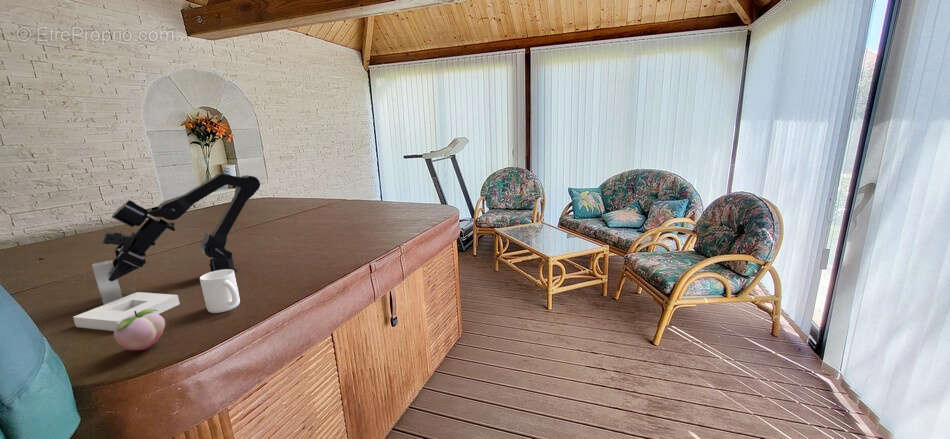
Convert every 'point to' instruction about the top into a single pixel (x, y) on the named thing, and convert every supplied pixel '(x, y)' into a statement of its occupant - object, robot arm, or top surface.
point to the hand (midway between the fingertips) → (109, 277)
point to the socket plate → (124, 310)
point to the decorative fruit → (139, 330)
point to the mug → (220, 290)
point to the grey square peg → (106, 282)
